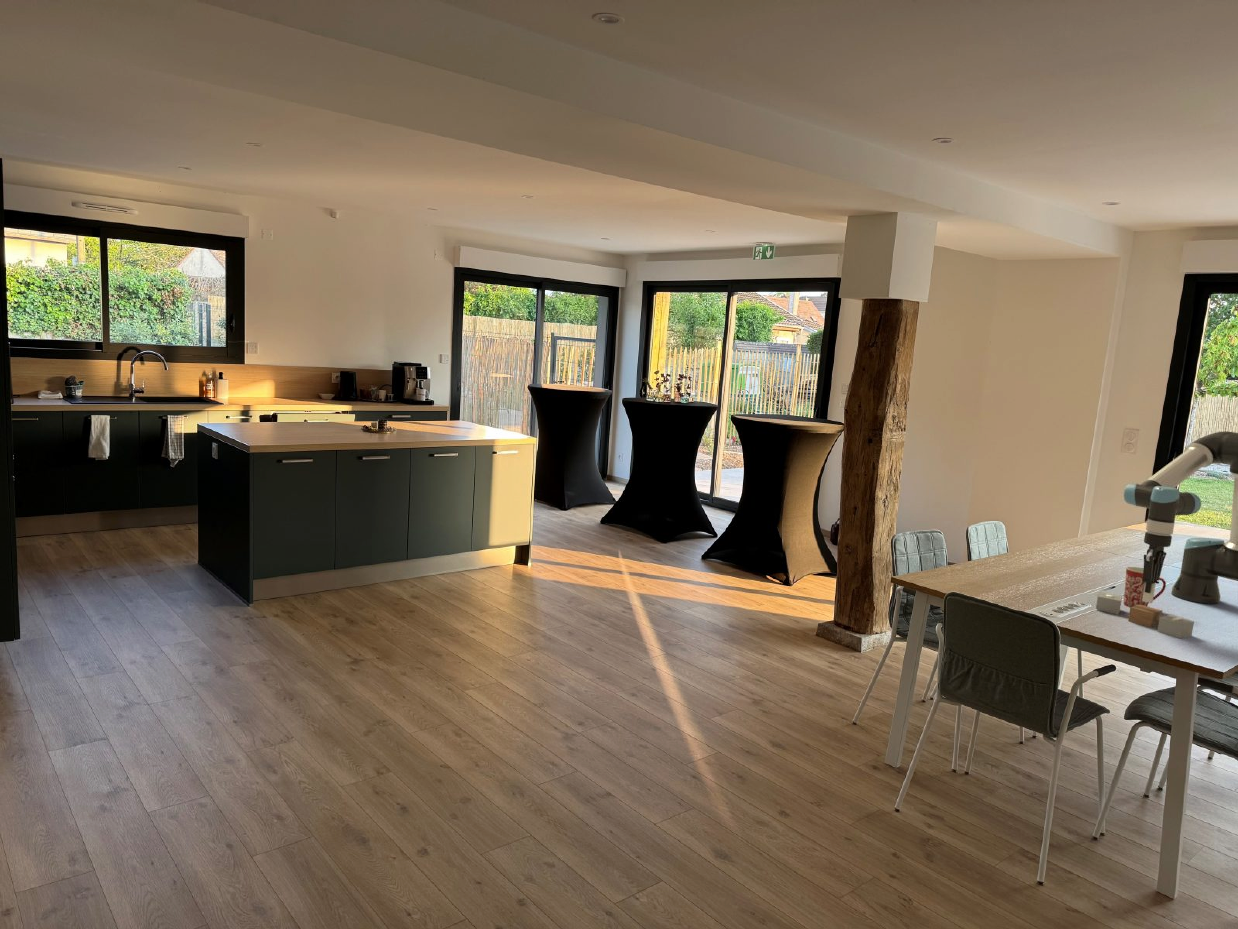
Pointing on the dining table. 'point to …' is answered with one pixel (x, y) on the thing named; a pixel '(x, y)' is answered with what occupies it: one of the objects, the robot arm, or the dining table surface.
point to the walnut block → (1145, 615)
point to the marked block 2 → (1175, 626)
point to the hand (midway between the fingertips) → (1147, 601)
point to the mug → (1136, 587)
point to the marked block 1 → (1108, 603)
